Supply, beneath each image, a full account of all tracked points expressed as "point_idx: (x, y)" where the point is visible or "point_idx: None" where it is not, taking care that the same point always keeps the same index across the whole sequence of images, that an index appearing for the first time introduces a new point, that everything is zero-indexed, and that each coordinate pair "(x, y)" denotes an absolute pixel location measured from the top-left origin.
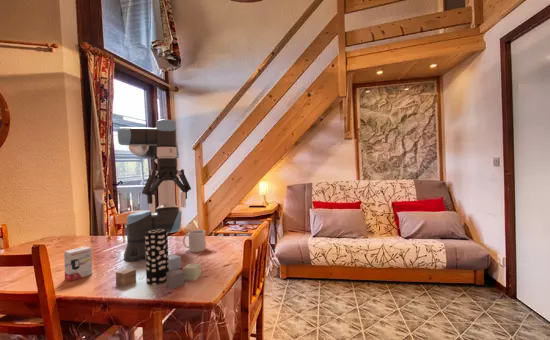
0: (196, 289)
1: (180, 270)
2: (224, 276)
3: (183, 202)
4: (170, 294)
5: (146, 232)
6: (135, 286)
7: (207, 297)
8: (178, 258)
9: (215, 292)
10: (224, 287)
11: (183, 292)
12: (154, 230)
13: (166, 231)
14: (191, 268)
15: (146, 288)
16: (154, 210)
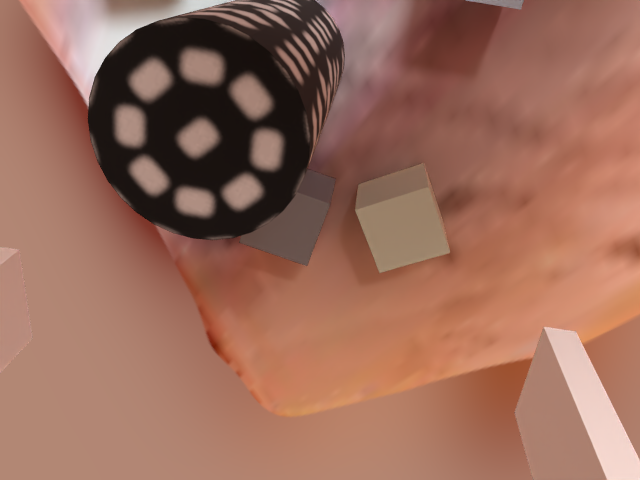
0: (312, 313)
1: (319, 227)
2: (482, 332)
3: (540, 461)
4: (222, 252)
5: (104, 95)
6: (168, 12)
7: (285, 389)
8: (497, 5)
9: (331, 390)
10: (383, 394)
11: (264, 286)
12: (201, 90)
13: (259, 225)
14: (373, 255)
15: None
16: (7, 352)
